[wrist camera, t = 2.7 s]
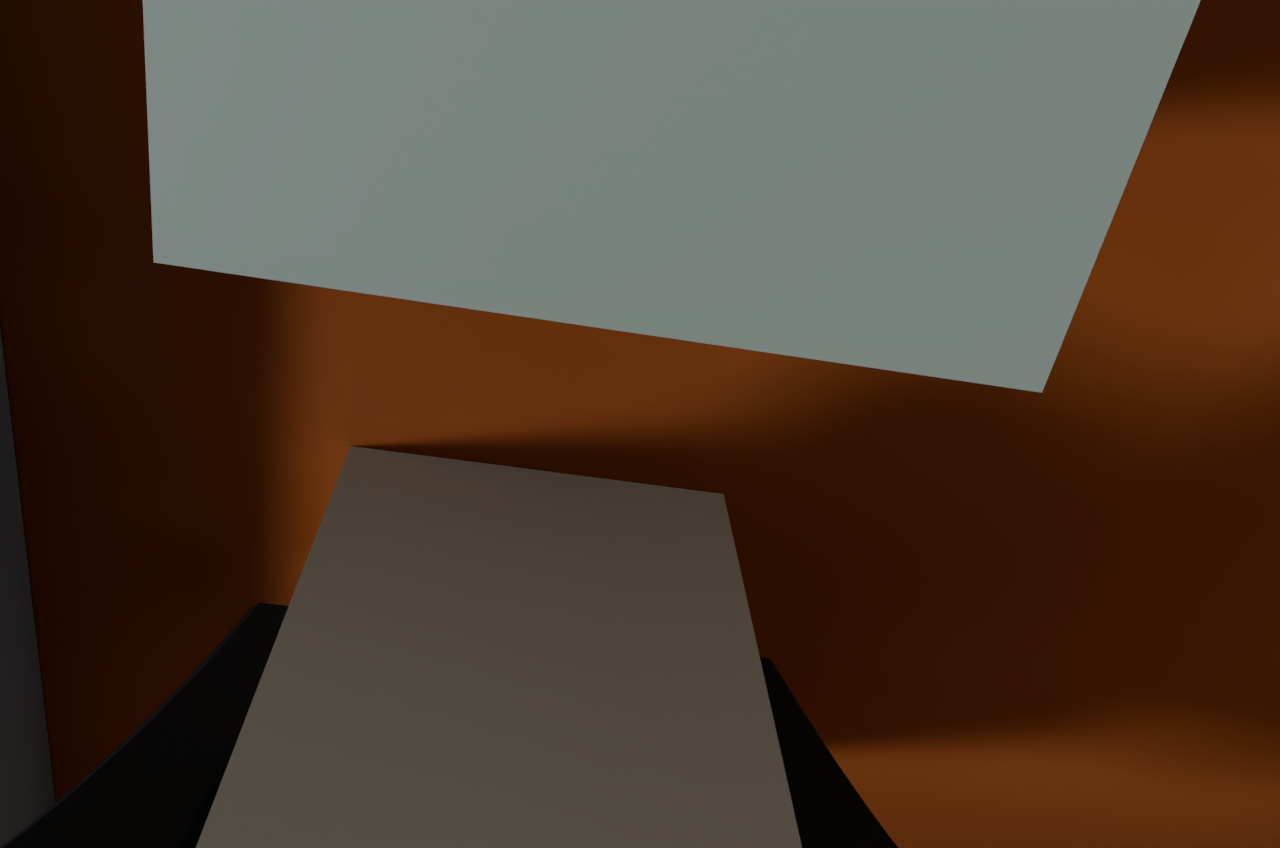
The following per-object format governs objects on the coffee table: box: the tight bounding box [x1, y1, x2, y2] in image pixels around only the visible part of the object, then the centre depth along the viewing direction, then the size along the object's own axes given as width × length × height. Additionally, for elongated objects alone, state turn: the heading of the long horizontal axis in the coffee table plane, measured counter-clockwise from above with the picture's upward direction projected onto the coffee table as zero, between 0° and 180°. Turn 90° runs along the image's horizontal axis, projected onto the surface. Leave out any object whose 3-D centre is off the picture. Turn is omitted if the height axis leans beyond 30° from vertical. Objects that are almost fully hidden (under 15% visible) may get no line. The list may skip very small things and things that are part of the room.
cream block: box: [196, 446, 802, 848], centre depth 11 cm, size 4×4×6 cm
